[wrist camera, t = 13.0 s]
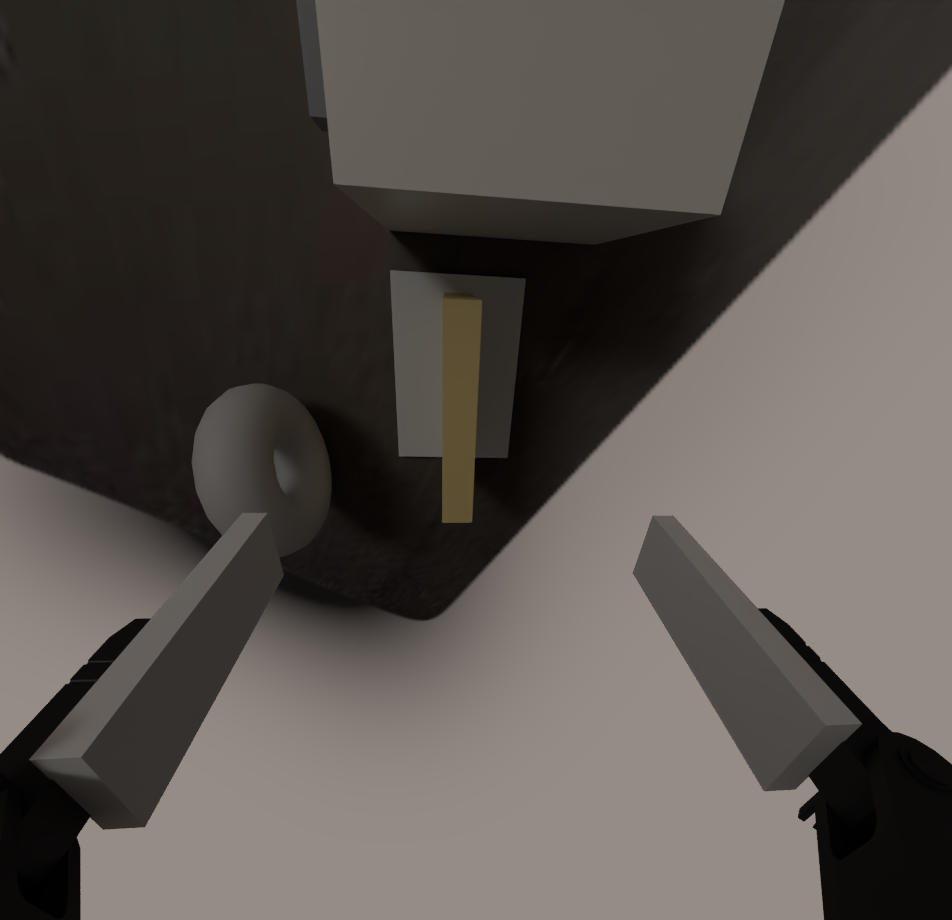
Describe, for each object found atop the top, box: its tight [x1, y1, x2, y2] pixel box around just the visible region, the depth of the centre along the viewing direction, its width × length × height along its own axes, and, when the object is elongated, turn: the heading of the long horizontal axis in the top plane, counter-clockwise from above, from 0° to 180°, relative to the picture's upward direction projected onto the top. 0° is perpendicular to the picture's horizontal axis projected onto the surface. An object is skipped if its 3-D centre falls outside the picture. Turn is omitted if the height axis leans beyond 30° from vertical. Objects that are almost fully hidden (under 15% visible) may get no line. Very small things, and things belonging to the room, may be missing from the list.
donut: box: [192, 384, 332, 557], centre depth 21 cm, size 10×4×10 cm, turn 9°
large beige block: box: [296, 0, 785, 245], centre depth 14 cm, size 8×13×11 cm, turn 87°
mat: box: [390, 270, 526, 458], centre depth 24 cm, size 12×8×1 cm, turn 177°
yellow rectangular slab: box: [442, 293, 482, 523], centre depth 20 cm, size 2×11×8 cm, turn 178°
